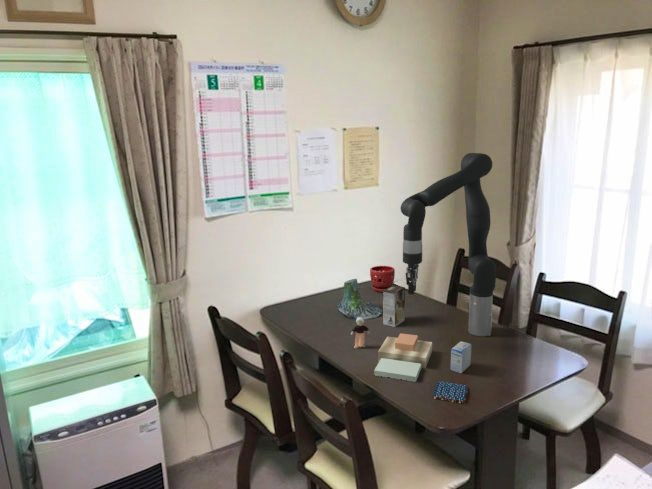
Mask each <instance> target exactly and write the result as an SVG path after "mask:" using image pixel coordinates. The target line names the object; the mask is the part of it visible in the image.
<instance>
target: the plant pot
mask: <svg viewBox="0 0 652 489" xmlns="http://www.w3.org/2000/svg"><path fill="white" fill-rule="evenodd" d="M395 272H396V269H395V268H394V267H393V266H389V265H377V266H376V265H375V266H371V267H370V269H369V275H370V281H371V283H372V285H371V289H372V290H374V291H376V292H378V293H383V290H385V289H387V288H389V287H391V286H392V285H393V283H394V281H395V275H396V274H395Z"/></svg>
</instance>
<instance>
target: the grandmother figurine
mask: <svg viewBox="0 0 652 489" xmlns="http://www.w3.org/2000/svg"><path fill="white" fill-rule="evenodd" d="M355 322H356V325H355V326H354V327H353V328H352V329H351V333H350V335H351V336H353V335H354V334H355V335H354V336H355V338H354V346H353V348H354V349H359V348H361V347H365V348H366V345H365V340H366V339H365V332H366V333H367V334H368V335H369V334H371V331H370V329H369V328H368V327H367V326H366V325H364V324H365V320H364V319H363V318H361V317H359V318H357V320H356V319H355Z"/></svg>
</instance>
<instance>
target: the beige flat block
mask: <svg viewBox="0 0 652 489" xmlns="http://www.w3.org/2000/svg"><path fill="white" fill-rule="evenodd" d="M397 338H398V337H396V336H386V338H385V340H384V341H383V343H382V344H381V346H380V348H379V349H378V351H377V354H378V355H377V362H379V361H380V359H381V358H385V359H392V360H399V361H406V362H413V363H420V364H421V369H422V368H424V369H426V368H427V365H428V363H429V360H430V358H431V356H432V352H433V342H432V341H426V340H425V341H424V340H419V339H418V342H417V344H416V346H415V348H414V351H407V350H400V349H395V342H396V340H397Z"/></svg>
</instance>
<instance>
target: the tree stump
mask: <svg viewBox="0 0 652 489" xmlns="http://www.w3.org/2000/svg"><path fill="white" fill-rule="evenodd" d="M360 290H361V287H359V282H358V278H352V279H349V280H345V281H344V282H343V298H342V300H341V301H340V303H338V305H337V307H338V308H337V309H338V310H339V311H340V312H341V313H342V314H343V315H344V316H346V317H347V318H348V319H351V320H355V321H356V320H357V318H359V317H361V318H363V319H364V321H370V320H372V319H373V320H374V319H378V318H379V317H380V316H381V315H383V309H381V308H380V307H379V306H378V305H375V304H374V303H372V302H369V301H368V302H366V301H365V300H364V299H363V298H362V297H361V294H360Z"/></svg>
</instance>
